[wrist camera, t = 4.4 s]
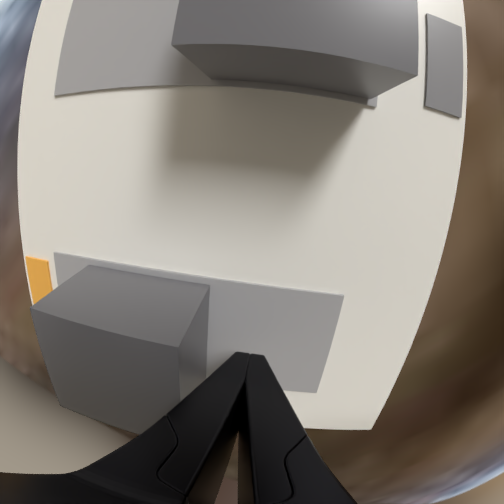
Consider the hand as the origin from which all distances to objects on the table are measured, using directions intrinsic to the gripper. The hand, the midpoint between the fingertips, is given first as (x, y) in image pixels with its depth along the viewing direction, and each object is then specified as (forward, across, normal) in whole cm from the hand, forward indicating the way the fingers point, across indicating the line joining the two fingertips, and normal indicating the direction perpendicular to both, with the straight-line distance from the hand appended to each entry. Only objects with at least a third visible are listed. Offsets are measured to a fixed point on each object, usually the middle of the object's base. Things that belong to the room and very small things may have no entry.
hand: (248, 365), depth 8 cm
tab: (+1, +3, 0) cm, 4 cm away
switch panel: (+3, +2, -9) cm, 10 cm away
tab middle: (+1, 0, -9) cm, 9 cm away
